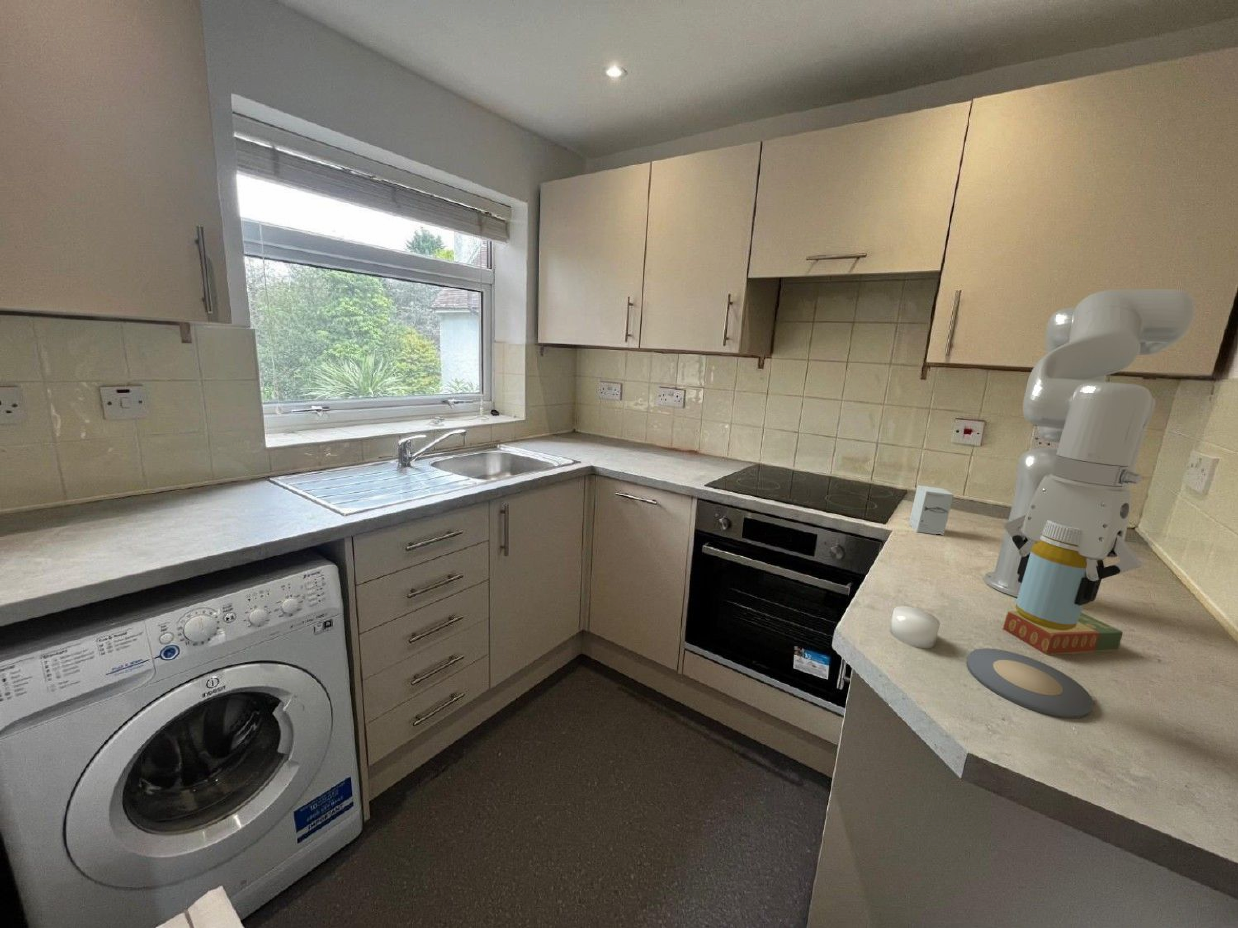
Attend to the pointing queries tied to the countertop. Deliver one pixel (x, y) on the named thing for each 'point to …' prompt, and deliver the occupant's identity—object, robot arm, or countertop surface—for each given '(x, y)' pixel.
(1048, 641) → the carton
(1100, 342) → the robot arm
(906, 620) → the white smooth round part
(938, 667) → the countertop surface
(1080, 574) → the bottle
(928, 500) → the supplement box
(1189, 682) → the countertop surface
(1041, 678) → the disc
